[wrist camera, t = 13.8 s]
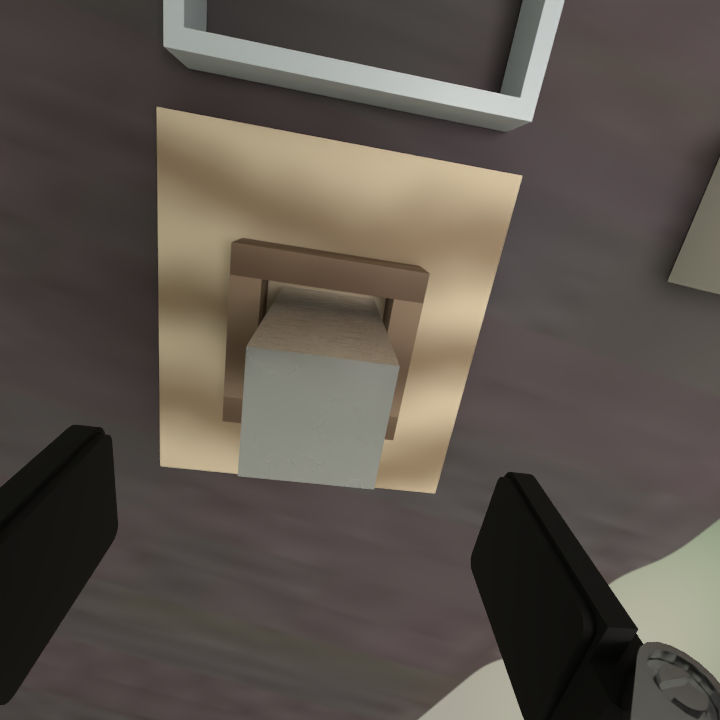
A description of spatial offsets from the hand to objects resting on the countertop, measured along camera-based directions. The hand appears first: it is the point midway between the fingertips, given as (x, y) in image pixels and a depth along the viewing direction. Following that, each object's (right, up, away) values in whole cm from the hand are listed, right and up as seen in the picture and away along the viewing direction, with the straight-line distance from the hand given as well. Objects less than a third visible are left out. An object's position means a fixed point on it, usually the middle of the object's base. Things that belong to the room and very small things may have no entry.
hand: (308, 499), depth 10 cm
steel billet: (-1, +5, +14) cm, 14 cm away
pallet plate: (-1, +5, +15) cm, 16 cm away
